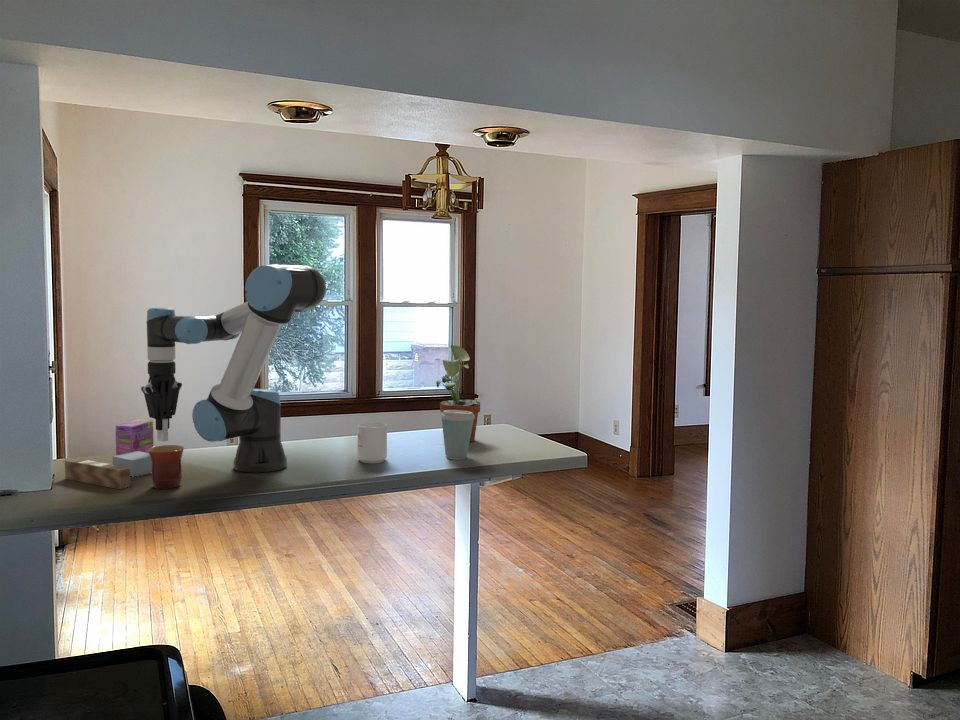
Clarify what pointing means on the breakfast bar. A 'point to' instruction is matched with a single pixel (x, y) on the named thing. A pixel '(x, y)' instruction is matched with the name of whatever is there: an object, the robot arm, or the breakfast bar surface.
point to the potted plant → (457, 404)
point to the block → (134, 462)
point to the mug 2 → (372, 442)
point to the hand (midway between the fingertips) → (162, 440)
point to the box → (134, 436)
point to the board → (97, 473)
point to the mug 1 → (166, 466)
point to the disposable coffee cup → (457, 432)
